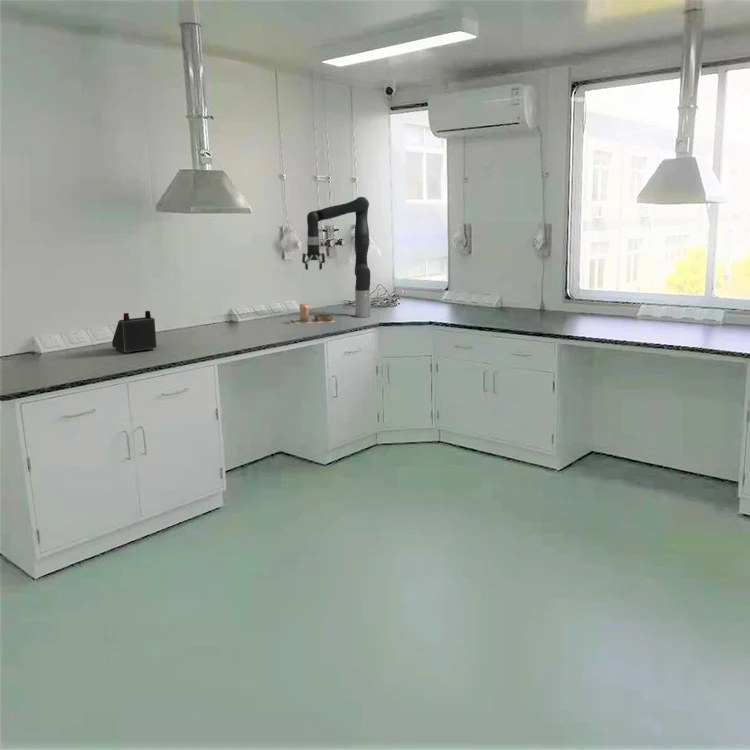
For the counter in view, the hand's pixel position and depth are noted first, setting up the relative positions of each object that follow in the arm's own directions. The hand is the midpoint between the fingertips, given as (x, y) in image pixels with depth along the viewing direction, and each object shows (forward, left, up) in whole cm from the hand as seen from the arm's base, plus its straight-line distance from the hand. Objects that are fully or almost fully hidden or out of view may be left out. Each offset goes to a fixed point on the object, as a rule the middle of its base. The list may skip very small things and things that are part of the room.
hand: (313, 269), depth 441 cm
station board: (+5, +21, -30) cm, 37 cm away
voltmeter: (+109, +74, -30) cm, 135 cm away
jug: (+11, +22, -29) cm, 38 cm away
